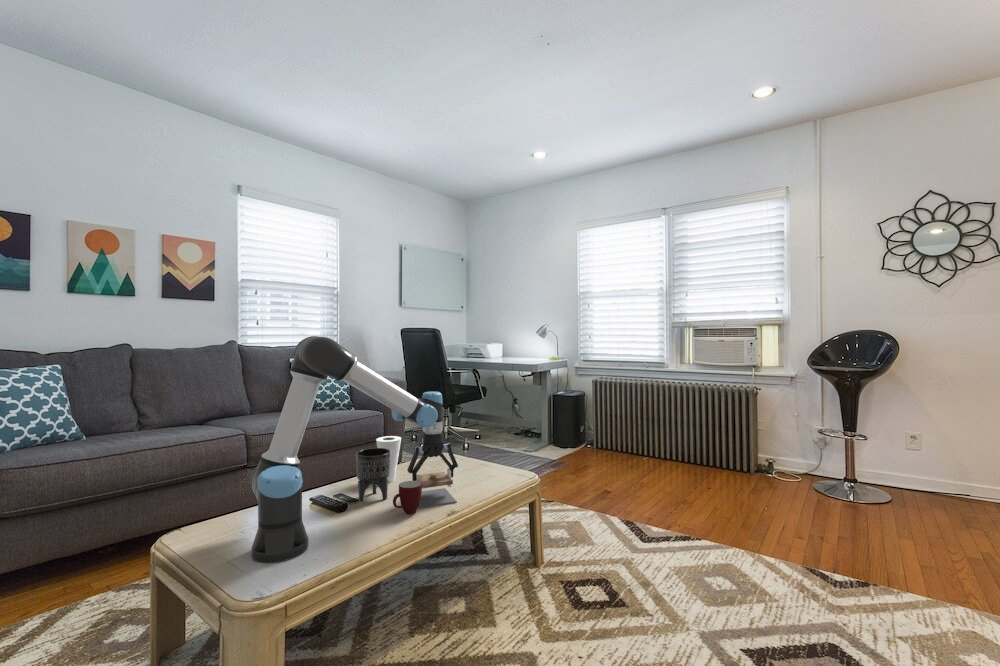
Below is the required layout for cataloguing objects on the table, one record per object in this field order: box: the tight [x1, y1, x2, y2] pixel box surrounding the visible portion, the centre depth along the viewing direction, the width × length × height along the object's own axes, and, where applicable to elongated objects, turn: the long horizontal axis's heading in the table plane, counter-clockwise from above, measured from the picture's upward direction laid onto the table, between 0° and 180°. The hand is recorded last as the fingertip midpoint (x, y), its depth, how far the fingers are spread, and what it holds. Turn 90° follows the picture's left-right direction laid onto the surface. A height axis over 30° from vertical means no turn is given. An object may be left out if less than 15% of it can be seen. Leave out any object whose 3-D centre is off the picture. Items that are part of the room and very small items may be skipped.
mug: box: [392, 480, 423, 515], centre depth 163 cm, size 10×8×10 cm
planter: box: [355, 447, 390, 503], centre depth 179 cm, size 13×13×18 cm
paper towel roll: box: [375, 435, 402, 483], centre depth 200 cm, size 11×11×18 cm
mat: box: [418, 487, 458, 509], centre depth 178 cm, size 14×16×1 cm
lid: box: [419, 471, 454, 489], centre depth 178 cm, size 12×12×3 cm
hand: (433, 488), depth 178 cm, fingers closed on lid, 12 cm apart
